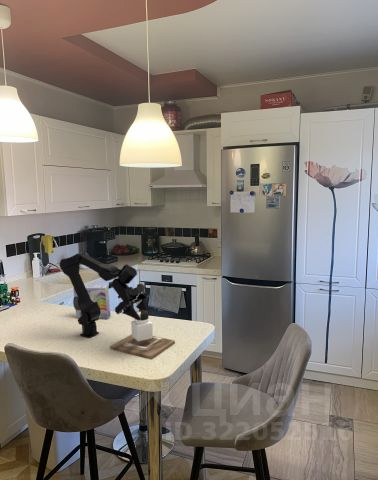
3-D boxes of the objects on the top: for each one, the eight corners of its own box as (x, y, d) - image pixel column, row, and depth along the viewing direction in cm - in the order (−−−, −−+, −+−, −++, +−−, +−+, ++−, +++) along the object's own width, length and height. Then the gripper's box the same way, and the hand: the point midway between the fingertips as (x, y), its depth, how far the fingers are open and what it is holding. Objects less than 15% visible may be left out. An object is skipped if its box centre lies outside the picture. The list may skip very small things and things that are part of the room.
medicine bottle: (146, 333, 172) (145, 307, 170) (153, 338, 166) (152, 311, 164) (131, 336, 169) (130, 310, 167) (137, 341, 163) (136, 314, 161)
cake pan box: (73, 318, 205) (71, 286, 203) (77, 315, 210) (75, 284, 208) (107, 319, 202) (106, 287, 200) (111, 316, 207) (109, 285, 205)
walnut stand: (110, 348, 166) (109, 343, 165) (135, 334, 181) (135, 329, 181) (151, 359, 155) (151, 353, 154) (174, 343, 170) (174, 338, 170)
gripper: (119, 283, 157) (142, 313, 154) (145, 274, 174) (166, 300, 170) (105, 299, 162) (127, 328, 159) (131, 289, 178) (151, 315, 175)
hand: (144, 317), depth 165 cm, fingers closed on medicine bottle, 6 cm apart
